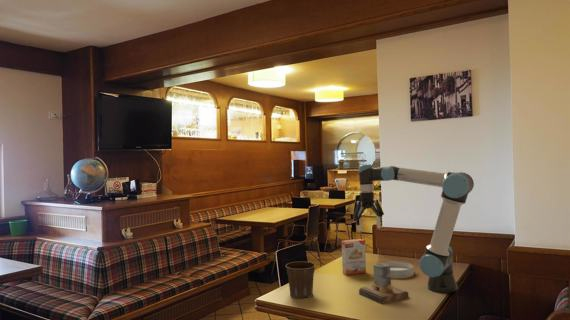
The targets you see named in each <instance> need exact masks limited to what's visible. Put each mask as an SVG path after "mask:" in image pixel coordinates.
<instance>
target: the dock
mask: <svg viewBox="0 0 570 320" xmlns="http://www.w3.org/2000/svg"><path fill="white" fill-rule="evenodd" d="M392 286H393V285H392ZM358 294H359V295H361V296H364V297H366V298H368V299H371V300H372V301H375V302H377V303H378V304H379V303H380V304H385V303H386V304H387V303H388V302H393V301H398V300H402V299H405V298H409V292H408V290H404V289H402V288H399V287H396V286H393V290H391V291H386V292H380V291H379V289H378V290H375V289H373V284H371V285H367V286H362V287H360V288H359V289H358Z"/></svg>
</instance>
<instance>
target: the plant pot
mask: <svg viewBox="0 0 570 320" xmlns="http://www.w3.org/2000/svg"><path fill="white" fill-rule="evenodd" d="M315 267H316V264H315V263H314V262H310V261H292V262H288V263H286V264H285V268H286V273H287V277H288V286H289V287H288V288H289V295H290V296H291V297H293V298H295V299H304V298H310V297H312V296H313V293H314V292H313V291H314V274H315Z"/></svg>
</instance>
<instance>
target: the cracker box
mask: <svg viewBox="0 0 570 320" xmlns="http://www.w3.org/2000/svg"><path fill="white" fill-rule="evenodd" d="M341 260H342V273H343V274H344V275H345V276H349V275H358V274H366V273H367V263H366V262H367V258H366V240H365V239H363V238H357V239H347V240H341Z"/></svg>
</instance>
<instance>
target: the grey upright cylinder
mask: <svg viewBox="0 0 570 320" xmlns="http://www.w3.org/2000/svg"><path fill="white" fill-rule="evenodd" d="M381 263H382V264H379V263H378V264H377V263H376V264H373V265H372V266H373V279H374V280H373V282H374V283H372V285H373V289H375V290H378V289H379V291H380V292H386V291H391V290H393V284H392V278H391V274H390V265H386V264H383V262H381Z"/></svg>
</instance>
